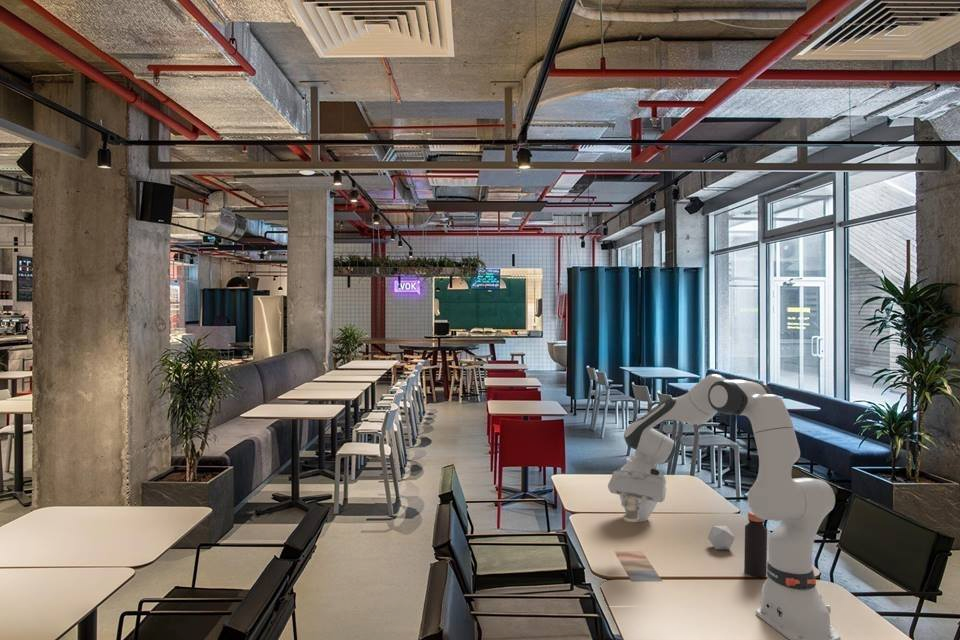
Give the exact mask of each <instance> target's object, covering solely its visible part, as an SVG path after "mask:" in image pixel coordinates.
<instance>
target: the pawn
mask: <svg viewBox="0 0 960 640" xmlns="http://www.w3.org/2000/svg"><path fill="white" fill-rule="evenodd" d="M637 503H638V500H637V498H636V497H635V496H634V495H629V496H627V498H626V511H625V514H623V517H622V519H623V521H625V522H628V523H639V521H640V517H639V516H637V508H636V505H637Z"/></svg>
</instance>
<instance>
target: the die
mask: <svg viewBox="0 0 960 640" xmlns="http://www.w3.org/2000/svg"><path fill="white" fill-rule="evenodd" d="M735 538H736V537H735V536H734V534H733V532H732V531H731V529H729V527H728V526H727V525H712V526H711V529H710V531H709V533H708V536H707V539H708V540H709V542H710V543H711V545H712V547H713V548H714V549H715V550H717V551H718V550H720V551H721V550H725V551H726V550H731V547H732V545H733V542H734V541H735Z"/></svg>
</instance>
